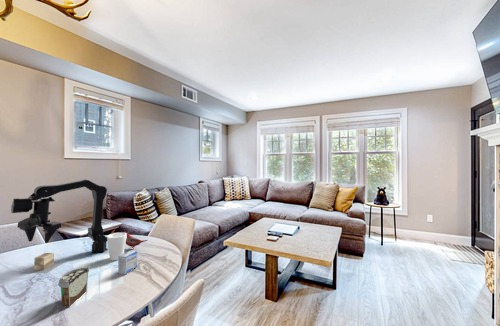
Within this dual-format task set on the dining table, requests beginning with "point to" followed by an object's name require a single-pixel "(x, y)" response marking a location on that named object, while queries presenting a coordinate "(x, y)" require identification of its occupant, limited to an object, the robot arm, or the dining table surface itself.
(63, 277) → the food container
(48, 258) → the maple block
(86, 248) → the dining table surface
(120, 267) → the medicine box
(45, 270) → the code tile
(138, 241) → the decorative bird figurine
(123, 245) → the foam cup
